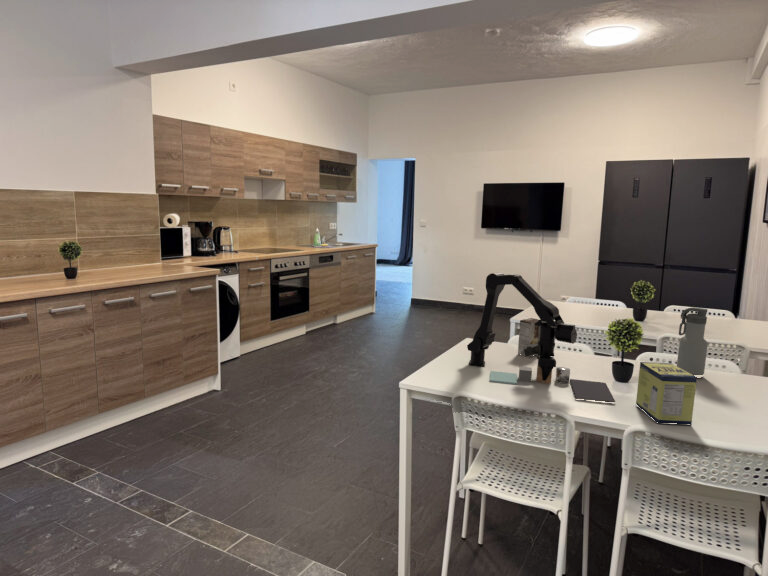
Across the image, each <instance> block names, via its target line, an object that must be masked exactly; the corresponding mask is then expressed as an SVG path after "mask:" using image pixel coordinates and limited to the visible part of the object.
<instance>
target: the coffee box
mask: <svg viewBox="0 0 768 576" xmlns="http://www.w3.org/2000/svg"><path fill="white" fill-rule="evenodd" d="M539 320H540V319H537V318H532V317H531V318H525V319H520V320H519V332H518V333H519V334H518V344H517V346H518V347H517V355H518V354H521V355H520V356H522V355H525V354H524V350H523V346H526V345H530V344H535V343H537V342H538V340H539V333H540V326H536V325H535V323H537V322H538V321H539ZM534 355H536V354H534ZM530 356H532V357H534V356H533V355H530ZM530 356H528V357H527V358H531V357H530ZM536 356H537V355H536Z"/></svg>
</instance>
